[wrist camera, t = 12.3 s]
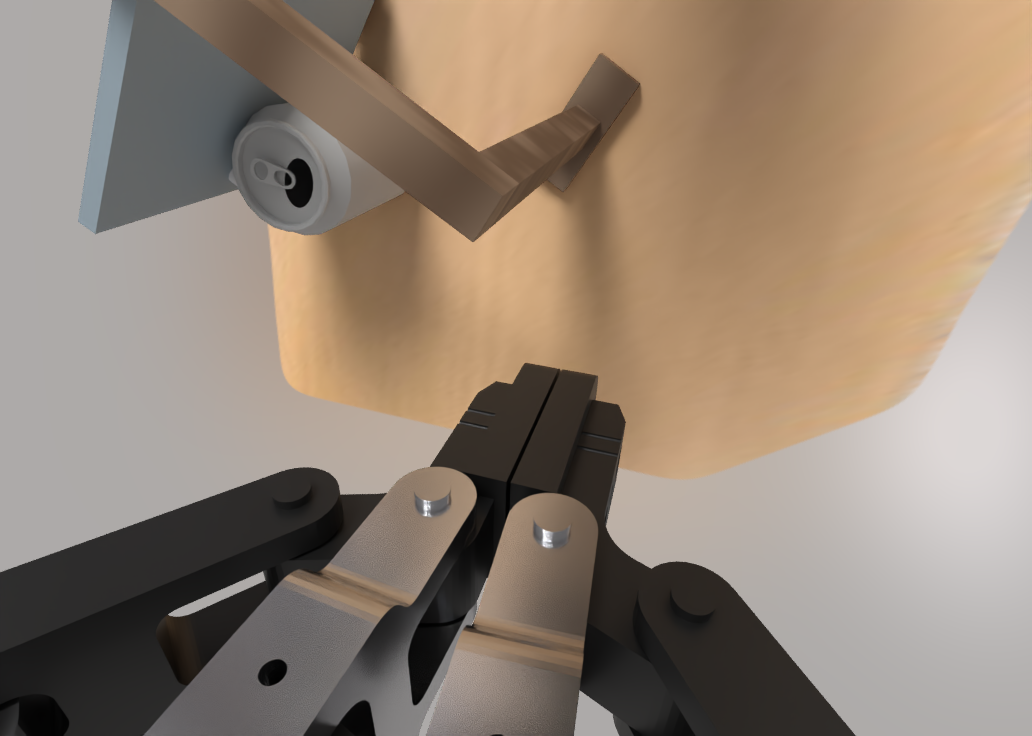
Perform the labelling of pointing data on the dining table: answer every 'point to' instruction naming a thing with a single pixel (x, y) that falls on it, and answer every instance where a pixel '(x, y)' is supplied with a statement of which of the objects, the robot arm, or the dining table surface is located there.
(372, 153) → the door frame
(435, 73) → the dining table surface
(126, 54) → the door
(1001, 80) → the dining table surface
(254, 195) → the can
